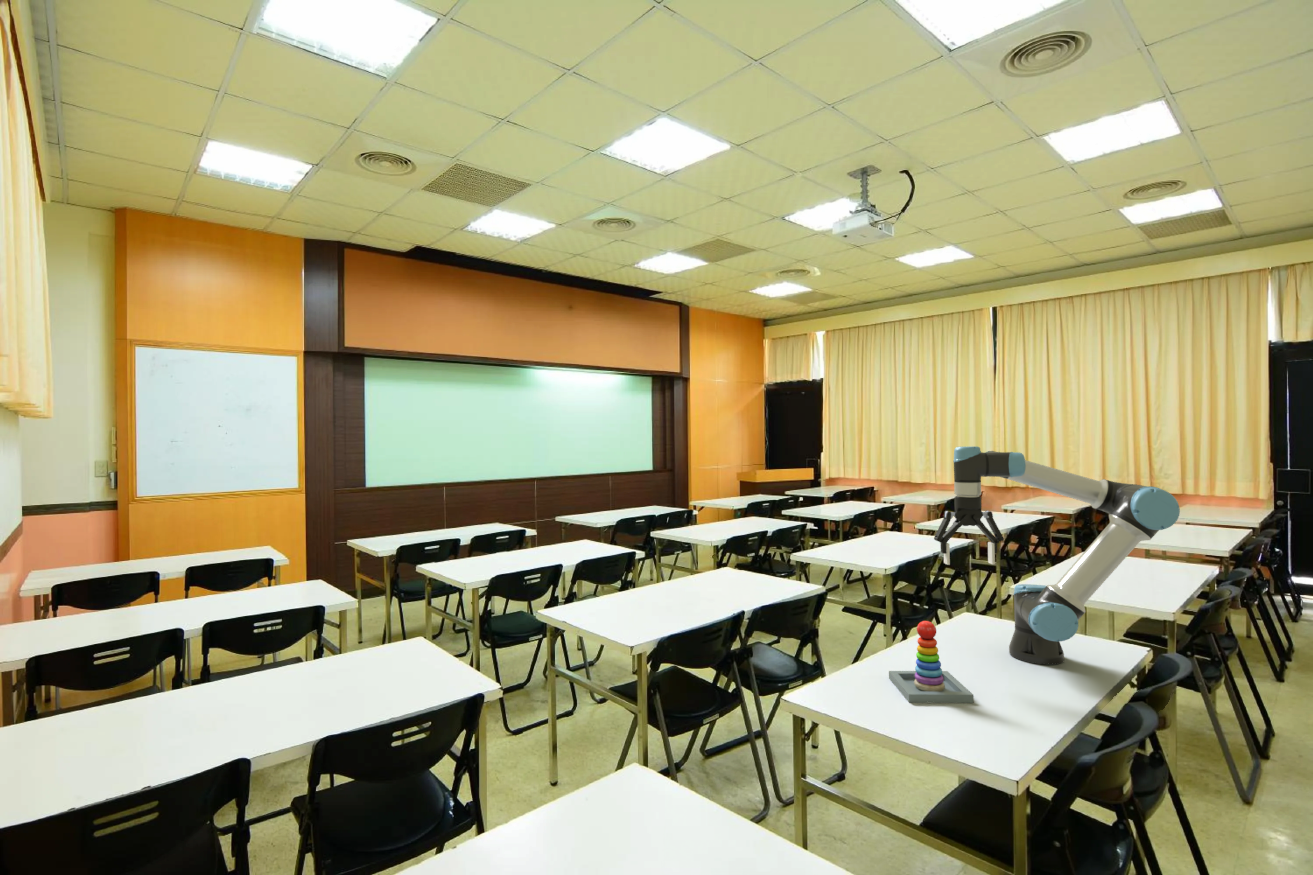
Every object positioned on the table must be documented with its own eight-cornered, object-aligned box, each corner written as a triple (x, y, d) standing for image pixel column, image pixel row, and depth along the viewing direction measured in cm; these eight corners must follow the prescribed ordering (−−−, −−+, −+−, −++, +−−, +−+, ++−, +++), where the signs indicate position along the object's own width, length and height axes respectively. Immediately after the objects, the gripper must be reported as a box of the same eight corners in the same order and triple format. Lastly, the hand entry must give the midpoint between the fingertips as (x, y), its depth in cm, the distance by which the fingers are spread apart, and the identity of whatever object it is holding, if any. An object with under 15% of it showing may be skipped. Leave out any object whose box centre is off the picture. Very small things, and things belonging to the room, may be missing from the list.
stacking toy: (938, 682, 179) (937, 617, 179) (949, 693, 171) (947, 625, 171) (910, 681, 180) (909, 617, 180) (919, 693, 172) (918, 625, 172)
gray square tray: (947, 678, 183) (947, 670, 183) (973, 702, 166) (973, 694, 166) (888, 678, 184) (888, 670, 184) (909, 702, 167) (908, 694, 167)
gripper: (1002, 494, 196) (1004, 561, 196) (922, 495, 198) (923, 561, 198) (1015, 496, 189) (1016, 565, 189) (931, 497, 190) (932, 566, 190)
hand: (969, 563), depth 193 cm, fingers open, 13 cm apart
